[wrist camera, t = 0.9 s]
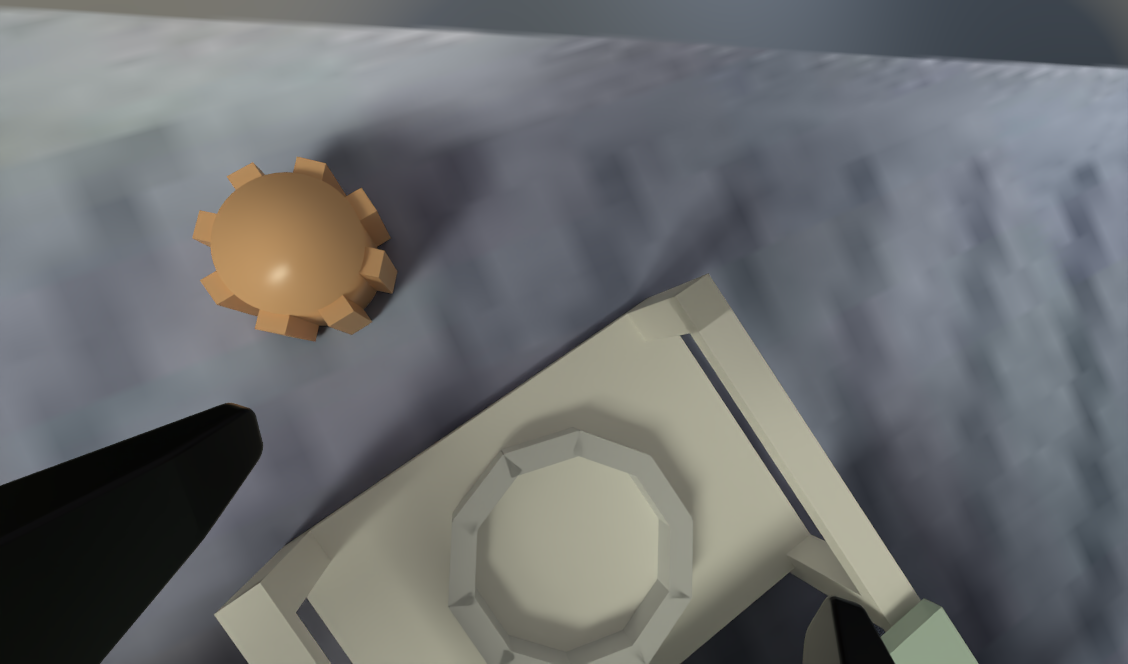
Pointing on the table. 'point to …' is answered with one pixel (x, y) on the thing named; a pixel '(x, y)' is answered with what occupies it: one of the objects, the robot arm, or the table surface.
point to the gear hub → (296, 251)
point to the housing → (582, 517)
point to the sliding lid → (926, 638)
